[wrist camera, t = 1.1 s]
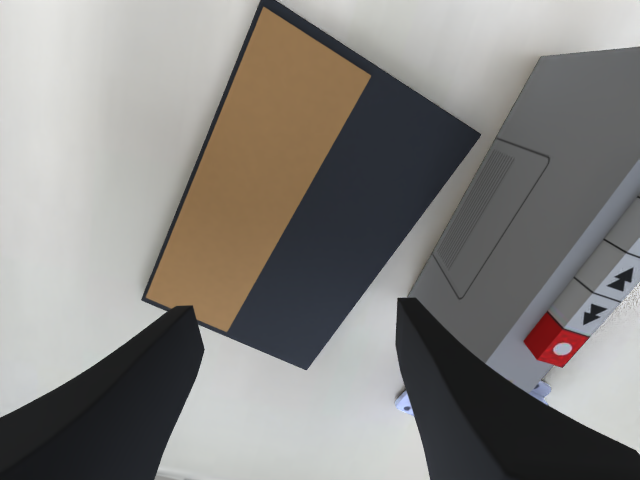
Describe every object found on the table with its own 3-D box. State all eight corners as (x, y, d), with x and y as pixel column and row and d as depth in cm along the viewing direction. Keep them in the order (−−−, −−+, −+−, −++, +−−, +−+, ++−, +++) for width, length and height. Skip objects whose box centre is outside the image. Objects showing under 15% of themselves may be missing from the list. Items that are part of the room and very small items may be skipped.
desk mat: (477, 133, 19) (482, 135, 18) (306, 364, 27) (306, 371, 26) (265, -5, 16) (263, -8, 16) (144, 295, 24) (139, 301, 23)
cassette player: (442, 308, 24) (510, 447, 15) (407, 297, 24) (455, 433, 15) (586, 75, 18) (859, 74, 9) (540, 56, 17) (774, 33, 8)
